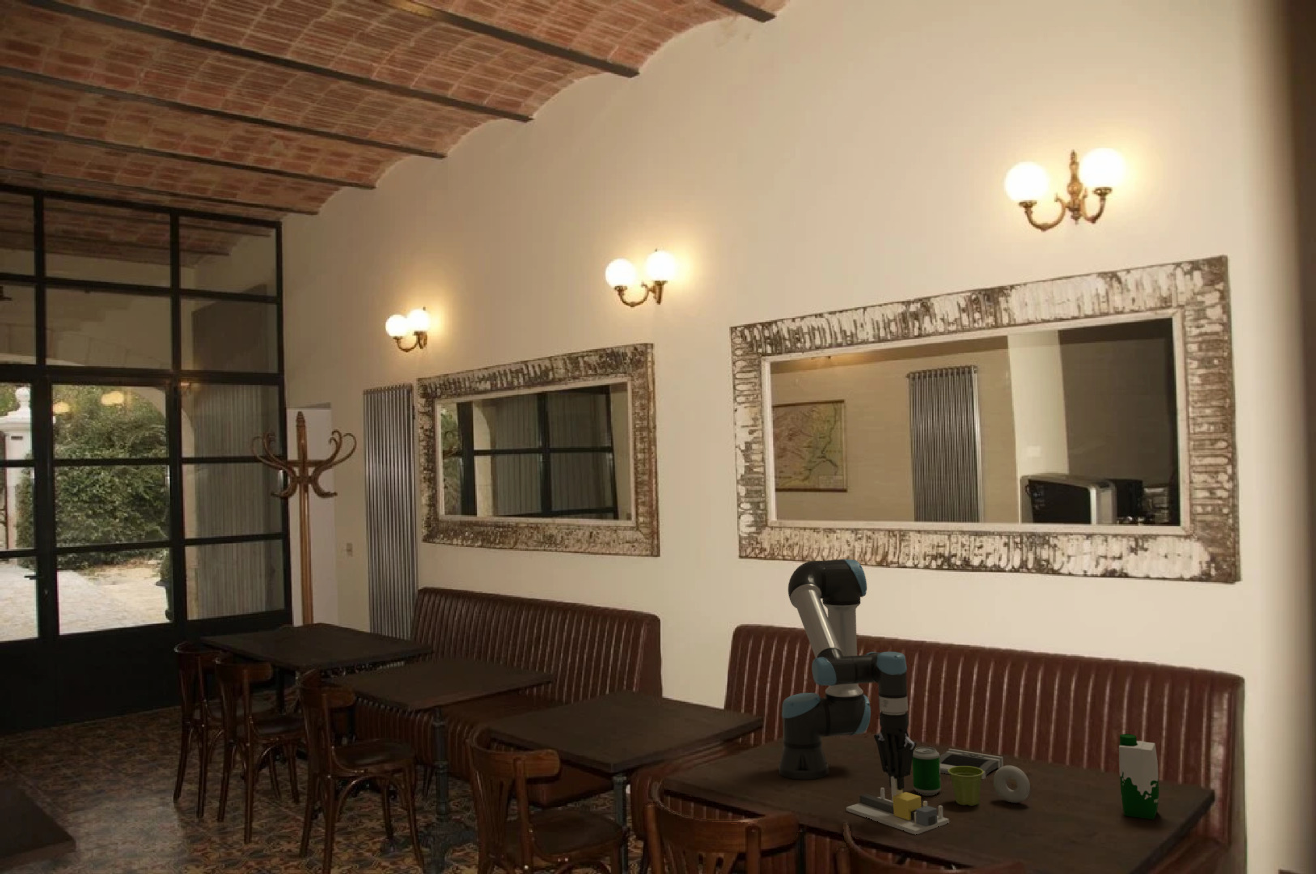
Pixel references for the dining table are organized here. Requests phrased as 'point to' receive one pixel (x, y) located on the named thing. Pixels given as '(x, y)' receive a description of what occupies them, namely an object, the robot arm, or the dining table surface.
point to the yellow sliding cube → (906, 804)
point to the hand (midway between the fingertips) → (897, 801)
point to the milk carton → (1138, 777)
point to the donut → (1020, 779)
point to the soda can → (926, 771)
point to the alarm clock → (969, 761)
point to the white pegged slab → (884, 814)
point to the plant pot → (966, 784)
